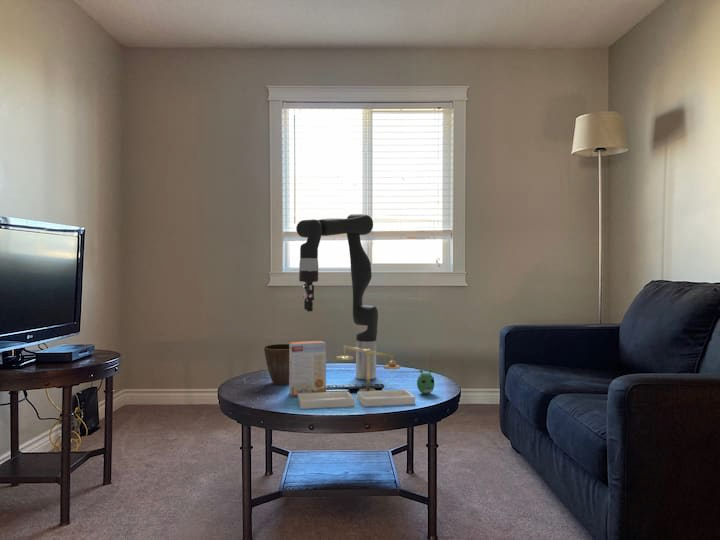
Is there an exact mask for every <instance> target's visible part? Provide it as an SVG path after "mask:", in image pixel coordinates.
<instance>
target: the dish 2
mask: <svg viewBox="0 0 720 540" xmlns="http://www.w3.org/2000/svg"><path fill="white" fill-rule="evenodd" d="M356 398H357V400H358V401H359V402H360V404H361V405H362V406H363V407H379V406H380V407H382V406H401V405H402V406H403V405H405V406H406V405H416V396H415V395H413V394H412V393H411V392H410V391H408V390H407V389H392V390H391V389H389V390H388V389H387V390H386V389H385V390H384V389H383V390H376V391H359V390H358V391H357V395H356Z"/></svg>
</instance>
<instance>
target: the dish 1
mask: <svg viewBox="0 0 720 540" xmlns="http://www.w3.org/2000/svg"><path fill="white" fill-rule="evenodd" d="M297 403H298V405H299V408H300V409H302V410H303V409H319V408H320V409H322V408H323V409H326V408H344V407H347V408H348V407H355V398H354V396H353V395H352V394H351V393H350V391H345V390H343V391H326V392H320V393H298V396H297Z"/></svg>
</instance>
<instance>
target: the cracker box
mask: <svg viewBox="0 0 720 540" xmlns="http://www.w3.org/2000/svg"><path fill="white" fill-rule="evenodd" d="M288 344H289V384H288V389H289V391H288V393H289V395H290V396H291V397H293V398H294V397H295V398H296V397H298V393H320V392H327V342H325V341H324V340H312V341H311V340H310V341H309V340H306V341H305V340H304V341H292V342H291V341H290V342H289V343H288Z"/></svg>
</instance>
